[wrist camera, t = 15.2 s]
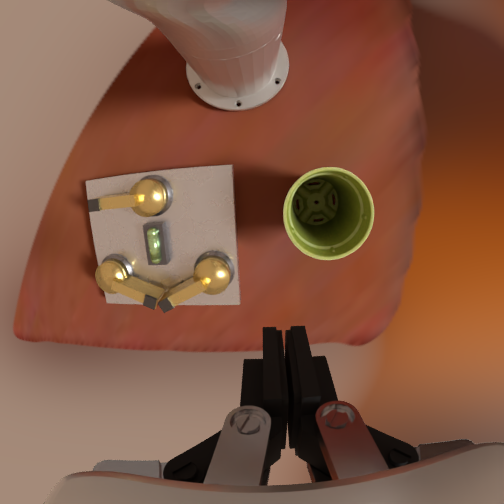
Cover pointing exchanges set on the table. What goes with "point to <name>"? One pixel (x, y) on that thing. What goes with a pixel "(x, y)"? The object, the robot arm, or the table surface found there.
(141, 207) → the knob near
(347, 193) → the plant pot
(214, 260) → the knob
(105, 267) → the knob
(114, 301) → the base plate
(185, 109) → the table surface
